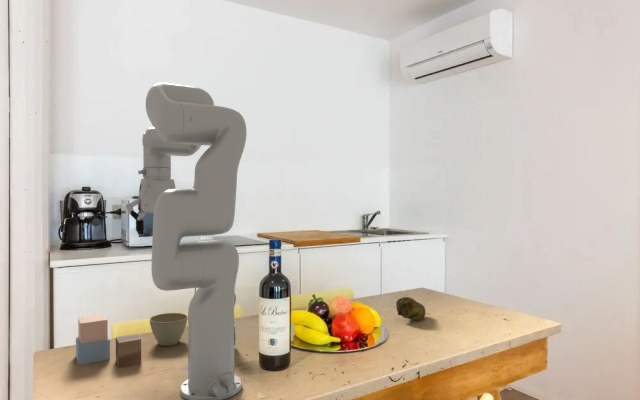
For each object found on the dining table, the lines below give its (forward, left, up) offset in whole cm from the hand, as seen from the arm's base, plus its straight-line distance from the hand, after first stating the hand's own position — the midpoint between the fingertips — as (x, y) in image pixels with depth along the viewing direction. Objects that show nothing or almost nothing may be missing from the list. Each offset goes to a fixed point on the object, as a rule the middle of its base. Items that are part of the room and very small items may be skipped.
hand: (157, 233), depth 130 cm
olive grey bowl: (-9, -1, -30) cm, 31 cm away
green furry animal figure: (-29, -74, -30) cm, 85 cm away
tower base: (-10, +18, -30) cm, 36 cm away
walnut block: (-18, +11, -30) cm, 36 cm away
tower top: (-10, +18, -25) cm, 32 cm away
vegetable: (-22, -13, -30) cm, 39 cm away
